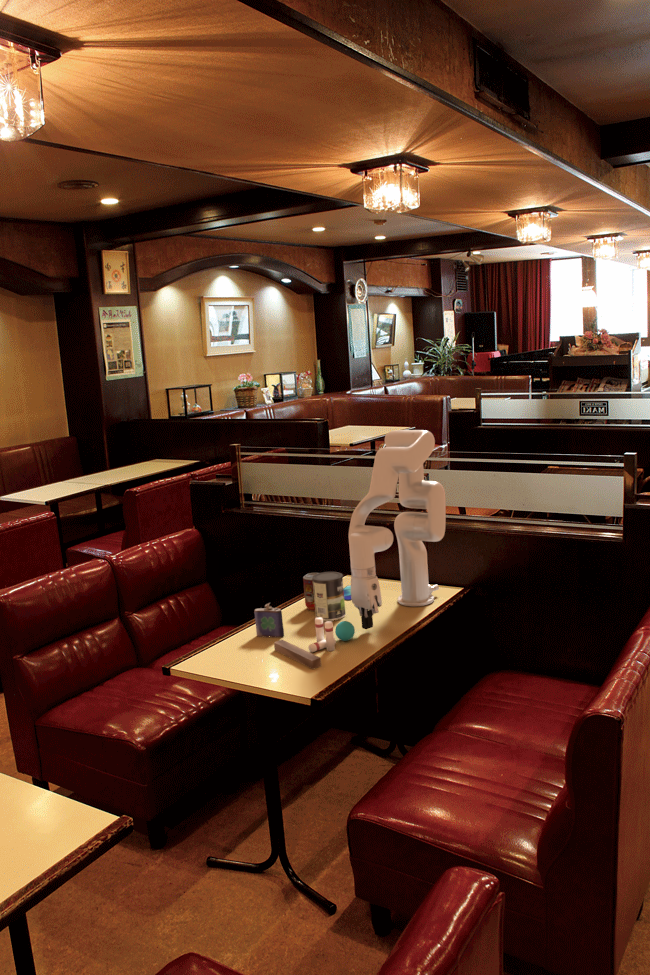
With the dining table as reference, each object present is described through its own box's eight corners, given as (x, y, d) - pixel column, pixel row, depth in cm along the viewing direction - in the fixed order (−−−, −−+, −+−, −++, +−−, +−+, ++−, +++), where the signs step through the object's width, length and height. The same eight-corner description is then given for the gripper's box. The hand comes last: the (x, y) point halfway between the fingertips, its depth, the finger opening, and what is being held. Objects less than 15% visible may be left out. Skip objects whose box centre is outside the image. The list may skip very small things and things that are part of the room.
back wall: (282, 647, 228) (282, 639, 228) (321, 666, 212) (320, 657, 212) (274, 650, 227) (273, 642, 226) (312, 669, 211) (312, 660, 210)
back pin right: (321, 643, 229) (319, 616, 228) (326, 645, 227) (324, 618, 226) (315, 645, 228) (313, 618, 226) (320, 647, 226) (317, 620, 224)
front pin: (330, 635, 228) (307, 643, 223) (335, 637, 226) (312, 645, 221) (331, 643, 228) (308, 651, 224) (336, 645, 226) (313, 653, 222)
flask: (255, 637, 239) (252, 605, 237) (259, 633, 242) (255, 602, 240) (282, 638, 236) (279, 605, 234) (285, 634, 239) (282, 602, 237)
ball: (328, 628, 229) (337, 642, 232) (339, 633, 225) (349, 647, 227) (340, 615, 232) (349, 628, 234) (352, 619, 227) (361, 633, 230)
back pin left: (331, 647, 225) (329, 620, 224) (336, 649, 223) (334, 622, 222) (325, 649, 224) (322, 622, 222) (329, 652, 222) (327, 624, 220)
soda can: (302, 611, 259) (299, 577, 257) (311, 604, 266) (308, 571, 264) (320, 612, 256) (317, 578, 254) (329, 605, 263) (326, 572, 261)
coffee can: (348, 610, 256) (345, 571, 254) (342, 621, 246) (339, 580, 244) (318, 610, 258) (315, 571, 256) (312, 621, 249) (309, 580, 246)
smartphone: (331, 598, 269) (347, 585, 283) (331, 600, 270) (347, 587, 283) (350, 599, 266) (366, 586, 280) (351, 602, 266) (366, 588, 280)
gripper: (388, 573, 228) (392, 630, 231) (357, 564, 240) (361, 618, 243) (369, 579, 223) (373, 637, 227) (339, 570, 235) (343, 625, 239)
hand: (367, 627), depth 235 cm, fingers closed
